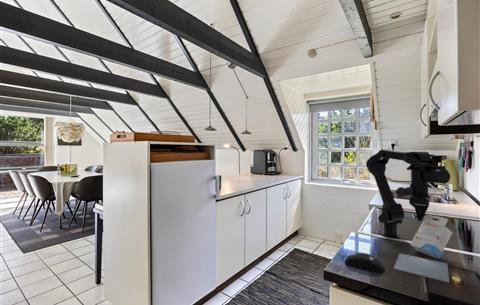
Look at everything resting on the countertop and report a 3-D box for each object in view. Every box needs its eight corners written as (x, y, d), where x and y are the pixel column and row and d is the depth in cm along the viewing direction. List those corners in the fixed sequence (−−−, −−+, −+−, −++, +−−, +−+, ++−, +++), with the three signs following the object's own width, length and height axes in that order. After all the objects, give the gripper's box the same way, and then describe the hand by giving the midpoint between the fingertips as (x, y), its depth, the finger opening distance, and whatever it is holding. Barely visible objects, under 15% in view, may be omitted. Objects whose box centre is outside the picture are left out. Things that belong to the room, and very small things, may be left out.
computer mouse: (382, 276, 75) (382, 264, 75) (343, 265, 82) (342, 254, 82) (386, 268, 80) (386, 256, 80) (349, 258, 88) (349, 248, 88)
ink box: (439, 259, 86) (457, 226, 89) (430, 252, 86) (449, 218, 88) (417, 251, 95) (434, 220, 97) (409, 244, 94) (426, 213, 96)
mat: (399, 254, 91) (399, 253, 91) (447, 264, 83) (447, 263, 83) (393, 268, 79) (393, 268, 79) (449, 282, 70) (449, 281, 70)
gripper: (398, 178, 111) (399, 211, 111) (393, 181, 97) (394, 219, 96) (429, 180, 104) (429, 215, 104) (428, 183, 90) (429, 224, 89)
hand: (420, 218), depth 98 cm, fingers open, 9 cm apart
